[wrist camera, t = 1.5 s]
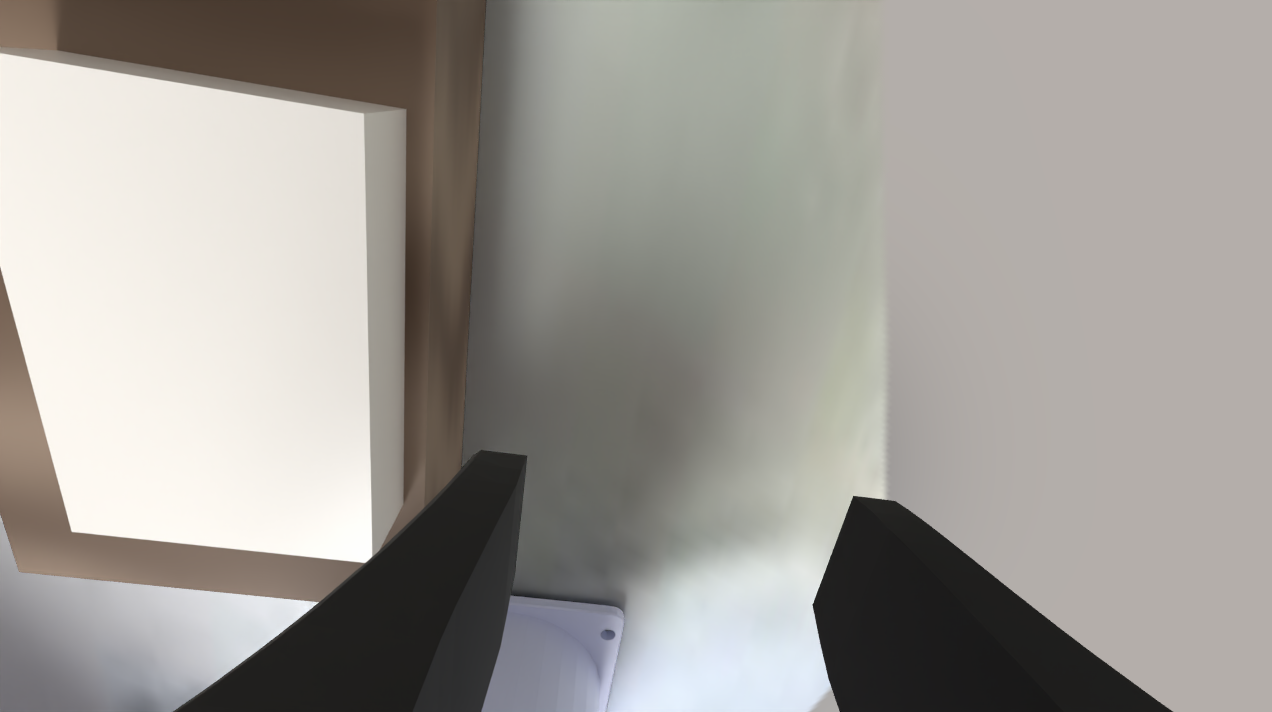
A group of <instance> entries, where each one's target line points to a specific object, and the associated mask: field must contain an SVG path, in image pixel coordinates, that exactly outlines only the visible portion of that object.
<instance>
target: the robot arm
mask: <svg viewBox="0 0 1272 712" xmlns="http://www.w3.org/2000/svg"><path fill="white" fill-rule="evenodd" d="M526 463H527V456H525V455H517V454H508V453H500V452H492V451H484V450H481V451H479V452H478V453H476V454H475V455H473V456H472V457H471V458H470V459H469V461H468V462H467V463H466V464H465V465H464V466H463V467H462V469H461V470H460V471H459V472H458V473H457V474H456V475H455V476H454V477H453V478H452V479H451V481H450V482H449V483H448V484H447V485H446V486H445V487H444V488H443V489H442V490H441V491H440V492H439V493H438V494H437V495H436V496H435V497H434V498H433V499H432V500H431V501H430V502H429V503H428V504H427V505H426V506H425V507H424V508H423V509H422V510H421V511H420V512H419V513H418V514H417V515H416V516H415V517H414V518H413V519H412V520H411V521H410V522H409V523H408V524H407V525H406V526H405V527H404V528H403V529H401V530H400V531H399V532H398V533H397V534H396V535H395V536H394V537H393V538H392V539H391V540H390V541H389V542H388V543H387V544H386V545H385V546H384V547H383V548H381V549H380V550H379V551H378V552H377V553H376V554H375V555H374V556H373V557H372V558H370V559H369V560H368V561H367V562H366V563H365V564H363V565H362V566H361V567H360V568H359V569H358V570H356V571H355V572H354V573H353V574H352V575H351V576H349V577H348V578H347V579H346V580H345V581H344V582H342V583H341V584H340V585H339V586H338V587H336V588H335V589H334V590H333V591H332V592H331V593H329V594H328V595H327V596H326V597H325V598H324V599H322V600H321V601H320V602H319V603H318V604H317V605H315V606H314V607H313V608H312V609H311V610H309V611H308V612H307V613H306V614H304V615H303V616H302V617H301V618H299V619H298V620H297V621H296V622H294V623H293V624H292V625H290V626H289V627H288V628H287V629H285V630H284V631H283V632H282V633H280V634H279V635H278V636H277V637H275V638H274V639H273V640H271V641H270V642H269V643H267V644H266V645H265V646H263V647H262V648H261V649H260V650H258V651H257V652H256V653H254V654H253V655H251V656H250V657H249V658H247V659H246V660H245V661H243V662H242V663H241V664H239V665H238V666H237V667H235V668H234V669H232V670H231V671H230V672H228V673H227V674H226V675H224V676H223V677H222V678H220V679H219V680H218V681H216V682H215V683H213V684H212V685H211V686H209V687H208V688H206V689H205V690H204V691H202V692H201V693H199V694H198V695H197V696H195V697H194V698H192V699H191V700H189V701H188V702H186V703H185V704H183V705H182V706H180V707H179V708H178V709H176V710H175V711H173V712H606V709H607V704H608V700H609V695H610V690H611V685H612V680H613V676H614V671H615V666H616V661H617V656H618V652H619V647H620V642H621V637H622V632H623V628H624V613H623V612H622V610H620V609H619V608H617V607H614V606H607V605H597V604H587V603H578V602H568V601H558V600H549V599H539V598H529V597H520V596H511V591H512V586H513V581H514V575H515V568H516V558H517V548H518V539H519V529H520V520H521V510H522V501H523V491H524V482H525V472H526ZM813 609H814V614H815V619H816V624H817V629H818V634H819V639H820V644H821V648H822V653H823V657H824V661H825V665H826V670H827V674H828V678H829V681H830V684H831V687H832V690H833V693H834V696H835V699H836V702H837V705H838V707H839V711H840V712H1173V711H1171V710H1170V709H1168V708H1167V707H1165V706H1164V705H1163V704H1161V703H1160V702H1158V701H1157V700H1156V699H1154V698H1153V697H1152V696H1150V695H1149V694H1147V693H1146V692H1145V691H1143V690H1142V689H1141V688H1139V687H1138V686H1137V685H1135V684H1134V683H1132V682H1131V681H1130V680H1128V679H1127V678H1126V677H1124V676H1123V675H1122V674H1120V673H1119V672H1117V671H1116V670H1115V669H1113V668H1112V667H1111V666H1109V665H1108V664H1107V663H1105V662H1104V661H1102V660H1101V659H1100V658H1098V657H1097V656H1096V655H1094V654H1093V653H1092V652H1090V651H1089V650H1088V649H1086V648H1085V647H1083V646H1082V645H1081V644H1080V643H1078V642H1077V641H1076V640H1074V639H1073V638H1072V637H1071V636H1069V635H1068V634H1067V633H1065V632H1064V631H1063V630H1061V629H1060V628H1059V627H1057V626H1056V625H1055V624H1054V623H1052V622H1051V621H1050V620H1048V619H1047V618H1046V617H1045V616H1043V615H1042V614H1041V613H1039V612H1038V611H1037V610H1036V609H1034V608H1033V607H1032V606H1031V605H1029V604H1028V603H1027V602H1026V601H1024V600H1023V599H1022V598H1020V597H1019V596H1018V595H1017V594H1015V593H1014V592H1013V591H1012V590H1010V589H1009V588H1008V587H1006V586H1005V585H1004V584H1003V583H1001V582H1000V581H999V580H998V579H996V578H995V577H994V576H993V575H992V574H990V573H989V572H988V571H987V570H985V569H984V568H983V567H982V566H980V565H979V564H978V563H976V562H975V561H974V560H973V559H972V558H970V557H969V556H968V555H966V554H965V553H964V552H963V551H961V550H960V549H959V548H958V547H956V546H955V545H954V544H953V543H951V542H950V541H949V540H948V539H946V538H945V537H944V536H942V535H941V534H940V533H939V532H937V531H936V530H935V529H933V528H932V527H931V526H930V525H928V524H927V523H926V522H924V521H923V520H922V519H920V518H919V517H917V516H916V515H915V514H913V513H912V512H911V511H909V510H908V509H906V508H905V507H903V506H902V505H900V504H899V503H897V502H896V501H890V500H882V499H874V498H866V497H858V496H853V498H852V501H851V504H850V506H849V509H848V512H847V514H846V517H845V520H844V523H843V525H842V528H841V531H840V533H839V536H838V539H837V541H836V544H835V547H834V549H833V552H832V555H831V557H830V560H829V563H828V565H827V568H826V571H825V573H824V576H823V579H822V581H821V584H820V587H819V589H818V592H817V595H816V598H815V600H814V603H813ZM607 629H609V630H611V631H605V630H607Z"/></svg>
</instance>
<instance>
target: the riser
mask: <svg viewBox="0 0 1272 712" xmlns="http://www.w3.org/2000/svg"><path fill="white" fill-rule="evenodd" d="M485 12H486V0H0V47H10V48H26V49H42V50H58V51H64V52H70V53H75V54H81V55H87V56H93V57H99V58H105V59H111V60H117V61H123V62H129V63H135V64H141V65H147V66H153V67H159V68H165V69H171V70H177V71H183V72H189V73H194V74H200V75H206V76H212V77H218V78H224V79H230V80H236V81H242V82H248V83H254V84H260V85H266V86H272V87H278V88H284V89H290V90H296V91H302V92H307V93H313V94H319V95H325V96H331V97H337V98H343V99H349V100H355V101H361V102H367V103H373V104H379V105H385V106H391V107H397V108H403V109H406V229H405V362H404V494H403V506H402V508H401V510H400V512H399V514H398V516H397V518H396V519H395V521H394V523H393V525H392V527H391V529H390V531H389V533H388V535H387V537H386V539H385V541H384V542H383V544H382V546H381V548H383V547H384V546H385V545H386V544H387V543H388V542H389V541H390V540H391V539H392V538H393V537H394V536H395V535H396V534H397V533H398V532H399V531H400V530H401V529H403V528H404V527H405V526H406V525H407V524H408V523H409V522H410V521H411V520H412V519H413V518H414V517H415V516H416V515H417V514H418V513H419V512H420V511H421V510H422V509H423V508H424V507H425V506H426V505H427V504H428V503H429V502H430V501H431V500H432V499H433V498H434V497H435V496H436V495H437V494H438V493H439V492H440V491H441V490H442V489H443V488H444V487H445V486H446V485H447V484H448V483H449V482H450V481H451V479H452V478H453V477H454V476H455V475H456V474H457V473H458V472H459V471H460V470H461V462H462V443H463V425H464V406H465V387H466V368H467V350H468V331H469V312H470V293H471V274H472V256H473V237H474V218H475V199H476V181H477V162H478V143H479V124H480V105H481V87H482V68H483V49H484V30H485ZM0 514H1V518H2V521H3V524H4V527H5V530H6V533H7V536H8V539H9V542H10V545H11V548H12V551H13V554H14V558H15V561H16V564H17V567H18V570H19V572H24V573H34V574H44V575H54V576H64V577H74V578H84V579H94V580H104V581H114V582H124V583H134V584H144V585H154V586H164V587H174V588H184V589H194V590H204V591H214V592H224V593H234V594H244V595H254V596H264V597H274V598H284V599H294V600H304V601H314V602H320V601H321V600H322V599H324V598H325V597H326V596H327V595H328V594H329V593H331V592H332V591H333V590H334V589H335V588H336V587H338V586H339V585H340V584H341V583H342V582H344V581H345V580H346V579H347V578H348V577H349V576H351V575H352V574H353V573H354V572H355V571H356V570H358V569H359V568H360V567H361V566H362V565H363V564H365V563H361V562H352V561H343V560H333V559H324V558H314V557H305V556H295V555H286V554H276V553H267V552H257V551H248V550H239V549H229V548H220V547H210V546H201V545H191V544H182V543H172V542H163V541H153V540H144V539H135V538H125V537H116V536H106V535H97V534H87V533H78V532H72V531H71V527H70V524H69V520H68V516H67V512H66V509H65V505H64V501H63V498H62V494H61V490H60V486H59V483H58V479H57V475H56V472H55V468H54V464H53V461H52V457H51V453H50V449H49V446H48V442H47V438H46V435H45V431H44V427H43V424H42V420H41V416H40V412H39V409H38V405H37V401H36V398H35V394H34V390H33V386H32V383H31V379H30V375H29V372H28V368H27V364H26V361H25V357H24V353H23V349H22V346H21V342H20V338H19V335H18V331H17V327H16V323H15V320H14V316H13V312H12V309H11V305H10V301H9V298H8V294H7V290H6V286H5V283H4V279H3V275H2V272H1V268H0ZM381 548H380V549H381Z"/></svg>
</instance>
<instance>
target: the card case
mask: <svg viewBox="0 0 1272 712" xmlns="http://www.w3.org/2000/svg"><path fill="white" fill-rule="evenodd" d="M405 229H406V109H403V108H397V107H391V106H385V105H379V104H373V103H367V102H361V101H355V100H349V99H343V98H337V97H331V96H325V95H319V94H313V93H307V92H302V91H296V90H290V89H284V88H278V87H272V86H266V85H260V84H254V83H248V82H242V81H236V80H230V79H224V78H218V77H212V76H206V75H200V74H194V73H189V72H183V71H177V70H171V69H165V68H159V67H153V66H147V65H141V64H135V63H129V62H123V61H117V60H111V59H105V58H99V57H93V56H87V55H81V54H75V53H70V52H64V51H58V50H42V49H26V48H10V47H0V268H1V272H2V275H3V279H4V283H5V286H6V290H7V294H8V298H9V301H10V305H11V309H12V312H13V316H14V320H15V323H16V327H17V331H18V335H19V338H20V342H21V346H22V349H23V353H24V357H25V361H26V364H27V368H28V372H29V375H30V379H31V383H32V386H33V390H34V394H35V398H36V401H37V405H38V409H39V412H40V416H41V420H42V424H43V427H44V431H45V435H46V438H47V442H48V446H49V449H50V453H51V457H52V461H53V464H54V468H55V472H56V475H57V479H58V483H59V486H60V490H61V494H62V498H63V501H64V505H65V509H66V512H67V516H68V520H69V524H70V527H71V531H72V532H78V533H87V534H97V535H106V536H116V537H125V538H135V539H144V540H153V541H163V542H172V543H182V544H191V545H201V546H210V547H220V548H229V549H239V550H248V551H257V552H267V553H276V554H286V555H295V556H305V557H314V558H324V559H333V560H343V561H352V562H361V563H366V562H367V561H368V560H369V559H370V558H372V557H373V556H374V555H375V554H376V553H377V552H378V551H379V550H380V548H381V546H382V544H383V542H384V541H385V539H386V537H387V535H388V533H389V531H390V529H391V527H392V525H393V523H394V521H395V519H396V518H397V516H398V514H399V512H400V510H401V508H402V506H403V494H404V362H405Z"/></svg>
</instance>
